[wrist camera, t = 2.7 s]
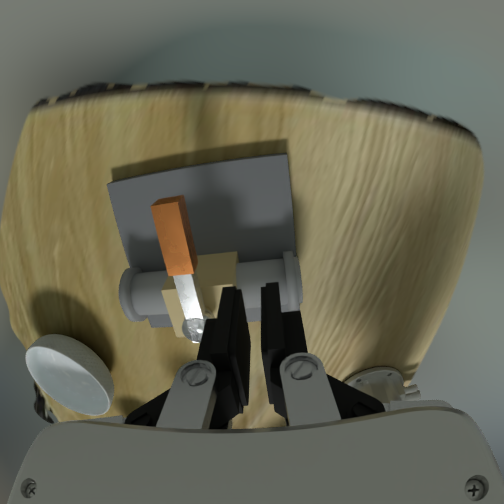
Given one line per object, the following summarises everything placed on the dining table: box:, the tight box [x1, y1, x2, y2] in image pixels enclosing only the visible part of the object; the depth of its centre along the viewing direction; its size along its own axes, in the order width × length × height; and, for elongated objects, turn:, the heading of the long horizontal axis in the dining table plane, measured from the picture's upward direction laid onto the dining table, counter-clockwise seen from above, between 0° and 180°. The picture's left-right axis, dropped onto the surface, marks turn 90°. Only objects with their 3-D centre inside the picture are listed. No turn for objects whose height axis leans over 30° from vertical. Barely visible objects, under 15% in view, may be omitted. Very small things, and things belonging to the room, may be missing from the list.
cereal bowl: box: [26, 334, 114, 415], centre depth 42 cm, size 17×17×7 cm
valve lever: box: [150, 195, 215, 343], centre depth 26 cm, size 14×3×2 cm, turn 7°
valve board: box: [107, 153, 303, 337], centre depth 32 cm, size 20×20×9 cm
